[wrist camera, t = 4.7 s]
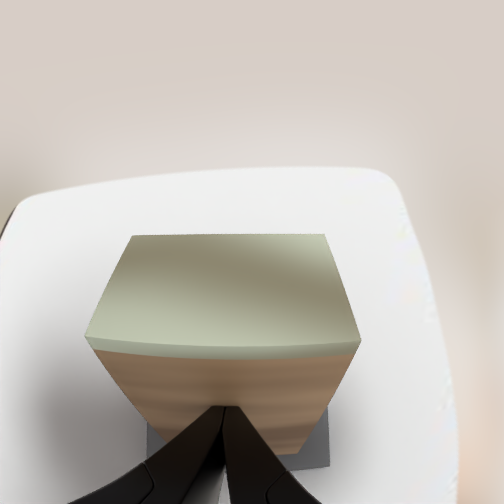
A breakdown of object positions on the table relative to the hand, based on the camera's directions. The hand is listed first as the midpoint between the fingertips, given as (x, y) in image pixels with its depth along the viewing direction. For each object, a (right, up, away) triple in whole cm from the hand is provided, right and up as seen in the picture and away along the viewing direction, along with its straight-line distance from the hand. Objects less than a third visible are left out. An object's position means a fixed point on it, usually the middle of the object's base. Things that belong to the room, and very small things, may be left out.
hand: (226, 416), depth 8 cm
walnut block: (0, -4, +6) cm, 7 cm away
